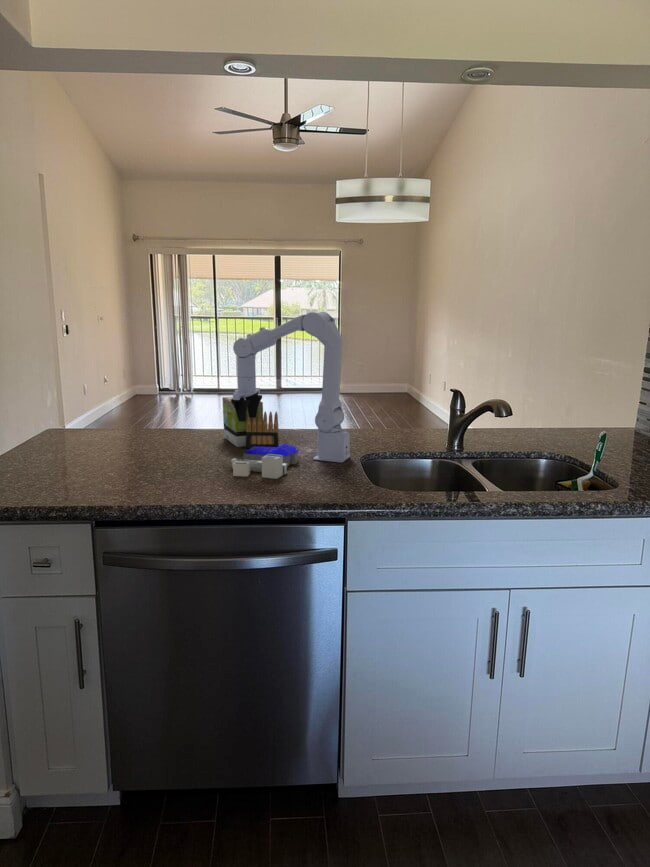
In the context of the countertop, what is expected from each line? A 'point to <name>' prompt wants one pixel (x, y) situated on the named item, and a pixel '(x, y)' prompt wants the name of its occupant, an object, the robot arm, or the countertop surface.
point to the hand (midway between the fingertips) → (247, 419)
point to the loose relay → (241, 468)
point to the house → (285, 450)
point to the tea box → (236, 423)
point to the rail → (257, 465)
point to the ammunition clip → (259, 437)
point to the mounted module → (272, 466)
